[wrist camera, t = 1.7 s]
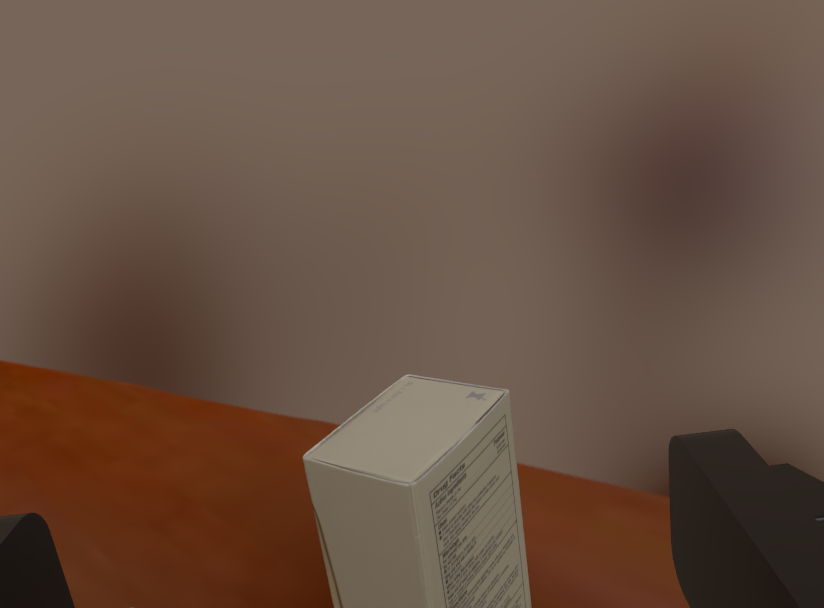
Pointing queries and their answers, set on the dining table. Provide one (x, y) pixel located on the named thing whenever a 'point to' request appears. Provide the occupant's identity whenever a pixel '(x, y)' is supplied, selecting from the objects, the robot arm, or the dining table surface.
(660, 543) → the dining table surface
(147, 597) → the dining table surface
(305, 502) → the dining table surface
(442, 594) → the skincare box
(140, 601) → the dining table surface
